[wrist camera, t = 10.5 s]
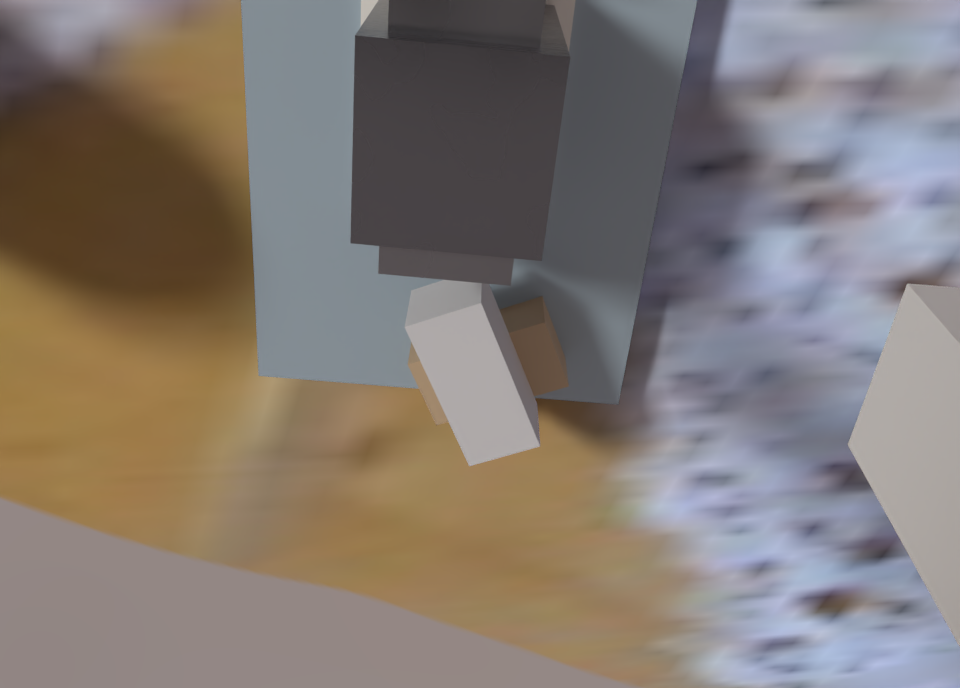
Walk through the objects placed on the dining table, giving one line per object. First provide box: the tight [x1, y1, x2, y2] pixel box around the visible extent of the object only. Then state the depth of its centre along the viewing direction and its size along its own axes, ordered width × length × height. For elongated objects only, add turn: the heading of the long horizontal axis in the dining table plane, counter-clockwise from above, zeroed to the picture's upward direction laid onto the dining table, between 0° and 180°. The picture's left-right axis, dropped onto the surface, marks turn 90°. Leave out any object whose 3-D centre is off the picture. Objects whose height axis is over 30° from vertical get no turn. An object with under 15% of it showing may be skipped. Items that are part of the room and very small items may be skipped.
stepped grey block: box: [350, 0, 570, 286], centre depth 22 cm, size 7×4×6 cm
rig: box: [241, 0, 697, 466], centre depth 24 cm, size 20×12×5 cm, turn 175°
